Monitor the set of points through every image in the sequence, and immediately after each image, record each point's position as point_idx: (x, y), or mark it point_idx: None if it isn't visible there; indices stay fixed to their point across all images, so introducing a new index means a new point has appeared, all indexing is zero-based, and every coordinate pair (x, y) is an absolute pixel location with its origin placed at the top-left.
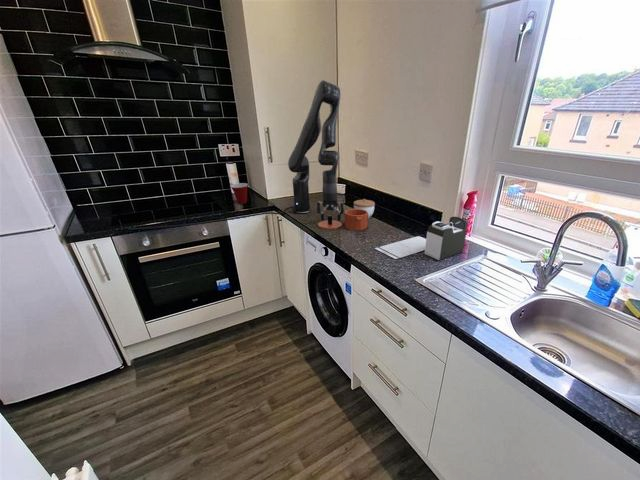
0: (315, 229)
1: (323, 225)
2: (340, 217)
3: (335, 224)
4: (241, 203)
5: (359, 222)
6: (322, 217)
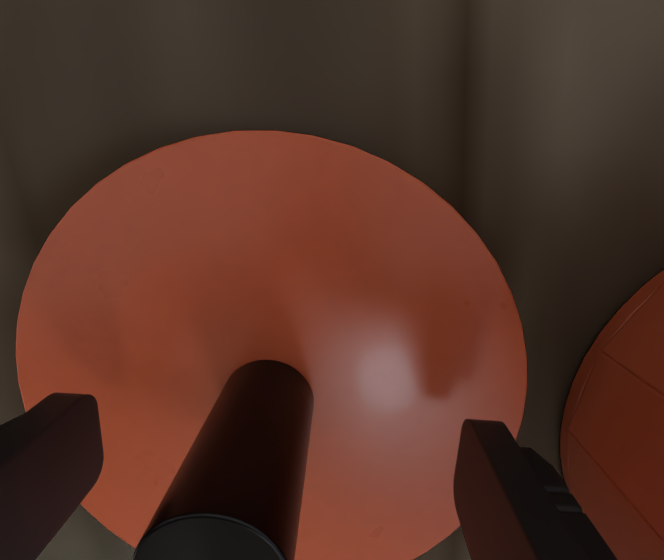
0: (68, 541)
1: (156, 485)
2: (573, 516)
3: (384, 422)
4: None
5: None
6: (12, 552)
